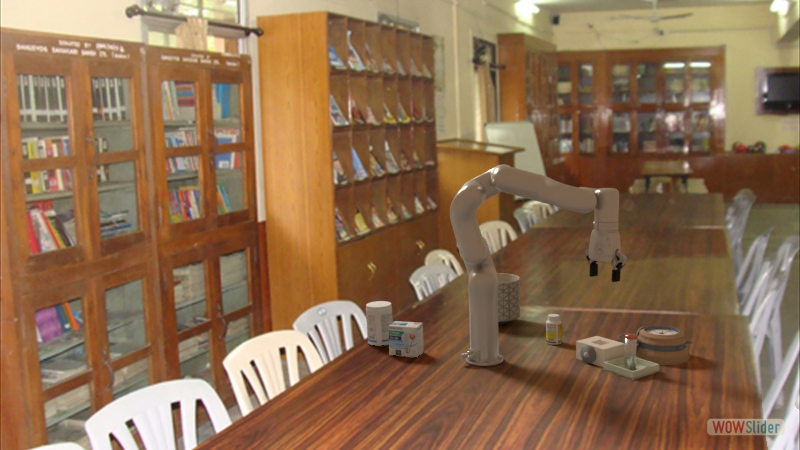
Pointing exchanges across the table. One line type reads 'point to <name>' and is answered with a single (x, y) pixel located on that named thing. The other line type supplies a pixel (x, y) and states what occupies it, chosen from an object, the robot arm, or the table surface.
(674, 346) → the alarm clock
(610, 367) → the tray
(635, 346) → the pin
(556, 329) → the supplement bottle
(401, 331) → the light bulb box
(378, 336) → the supplement tub
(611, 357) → the block
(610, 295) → the table surface
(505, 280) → the planter
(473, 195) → the robot arm
